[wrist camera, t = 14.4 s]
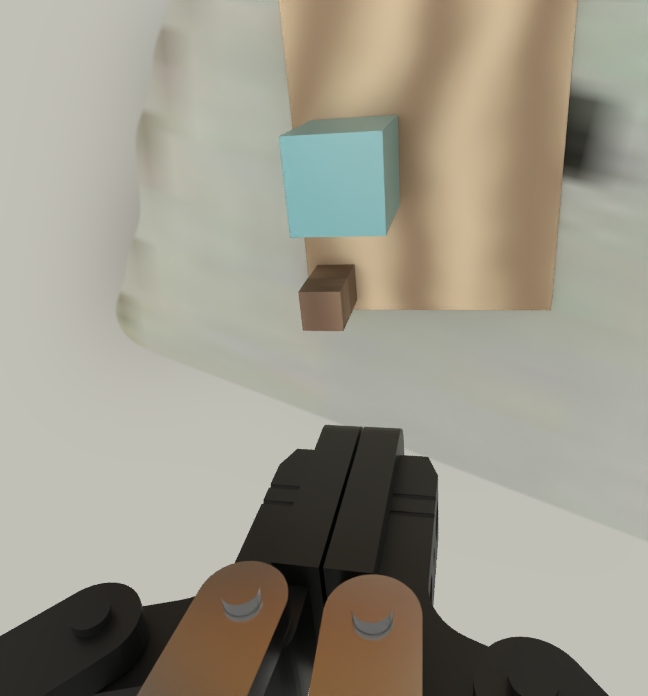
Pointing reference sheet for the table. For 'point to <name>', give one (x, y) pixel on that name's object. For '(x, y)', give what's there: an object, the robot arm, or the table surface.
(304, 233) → the aqua square block
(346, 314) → the walnut post
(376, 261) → the oak board
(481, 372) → the table surface
